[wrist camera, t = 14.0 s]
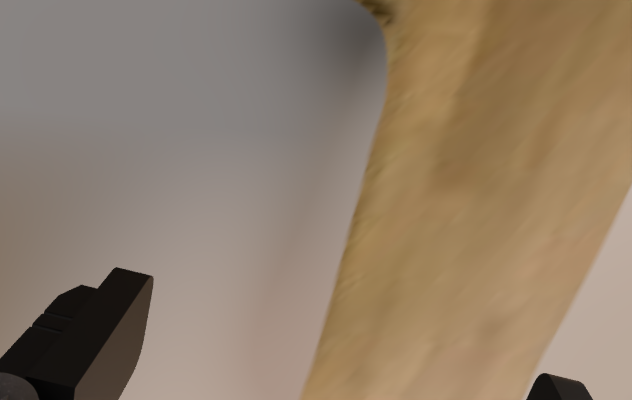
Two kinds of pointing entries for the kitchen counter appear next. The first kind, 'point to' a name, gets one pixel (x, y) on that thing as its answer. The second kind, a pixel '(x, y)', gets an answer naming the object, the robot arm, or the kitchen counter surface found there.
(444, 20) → the kitchen counter surface
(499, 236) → the kitchen counter surface
